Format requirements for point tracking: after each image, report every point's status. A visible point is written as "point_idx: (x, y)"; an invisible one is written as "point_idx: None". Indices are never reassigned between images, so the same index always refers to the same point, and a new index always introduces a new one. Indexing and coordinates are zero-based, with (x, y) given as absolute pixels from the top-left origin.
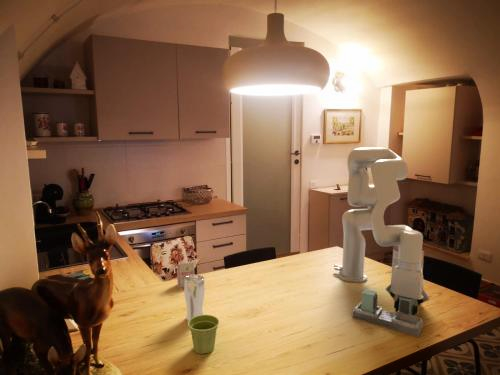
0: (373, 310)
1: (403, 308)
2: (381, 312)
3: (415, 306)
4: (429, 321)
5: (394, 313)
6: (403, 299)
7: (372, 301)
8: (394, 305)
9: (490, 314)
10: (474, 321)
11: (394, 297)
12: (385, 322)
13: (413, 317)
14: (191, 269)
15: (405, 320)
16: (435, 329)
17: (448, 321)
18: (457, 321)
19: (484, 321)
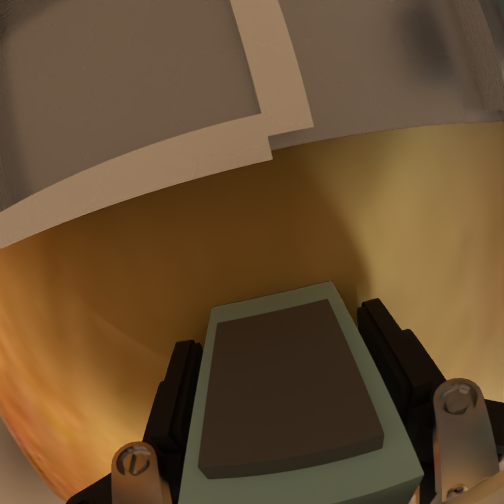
0: None
1: (290, 344)
2: (463, 41)
3: (162, 443)
4: (91, 366)
5: (341, 129)
6: (333, 475)
7: None
8: (418, 345)
9: (68, 499)
10: (36, 456)
11: (482, 414)
12: None
13: (43, 192)
14: None
15: (105, 54)
16: (2, 279)
17: (57, 420)
18: (48, 436)
19: (31, 464)
